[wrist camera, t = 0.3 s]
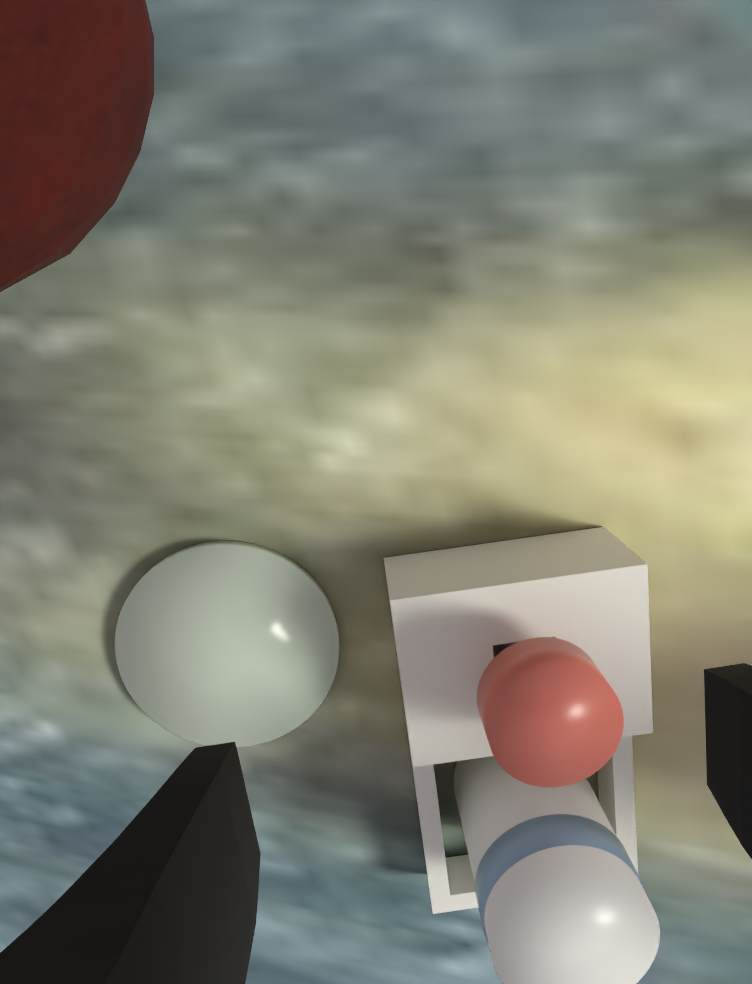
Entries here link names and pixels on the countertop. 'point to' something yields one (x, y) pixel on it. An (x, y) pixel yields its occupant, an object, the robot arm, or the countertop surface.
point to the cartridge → (552, 881)
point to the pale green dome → (227, 644)
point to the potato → (67, 121)
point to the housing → (506, 619)
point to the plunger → (548, 712)
